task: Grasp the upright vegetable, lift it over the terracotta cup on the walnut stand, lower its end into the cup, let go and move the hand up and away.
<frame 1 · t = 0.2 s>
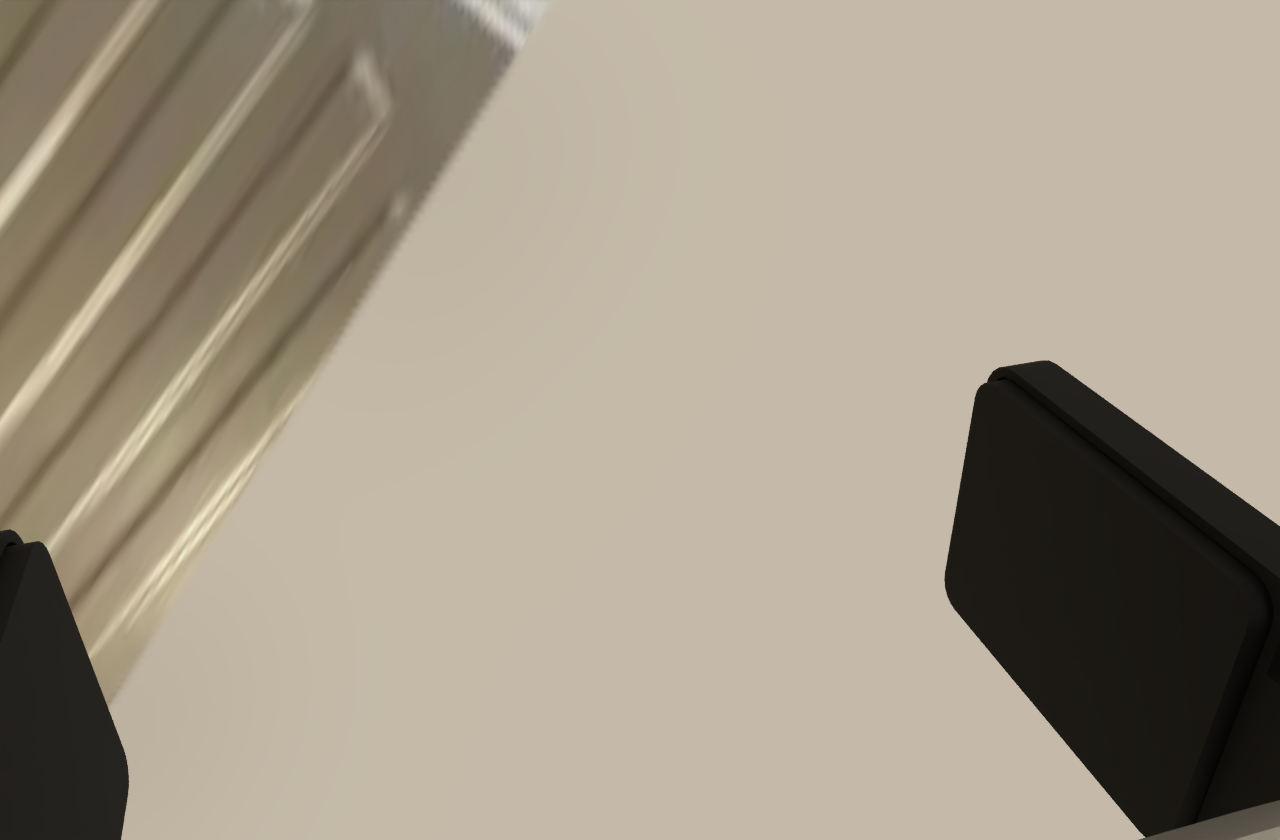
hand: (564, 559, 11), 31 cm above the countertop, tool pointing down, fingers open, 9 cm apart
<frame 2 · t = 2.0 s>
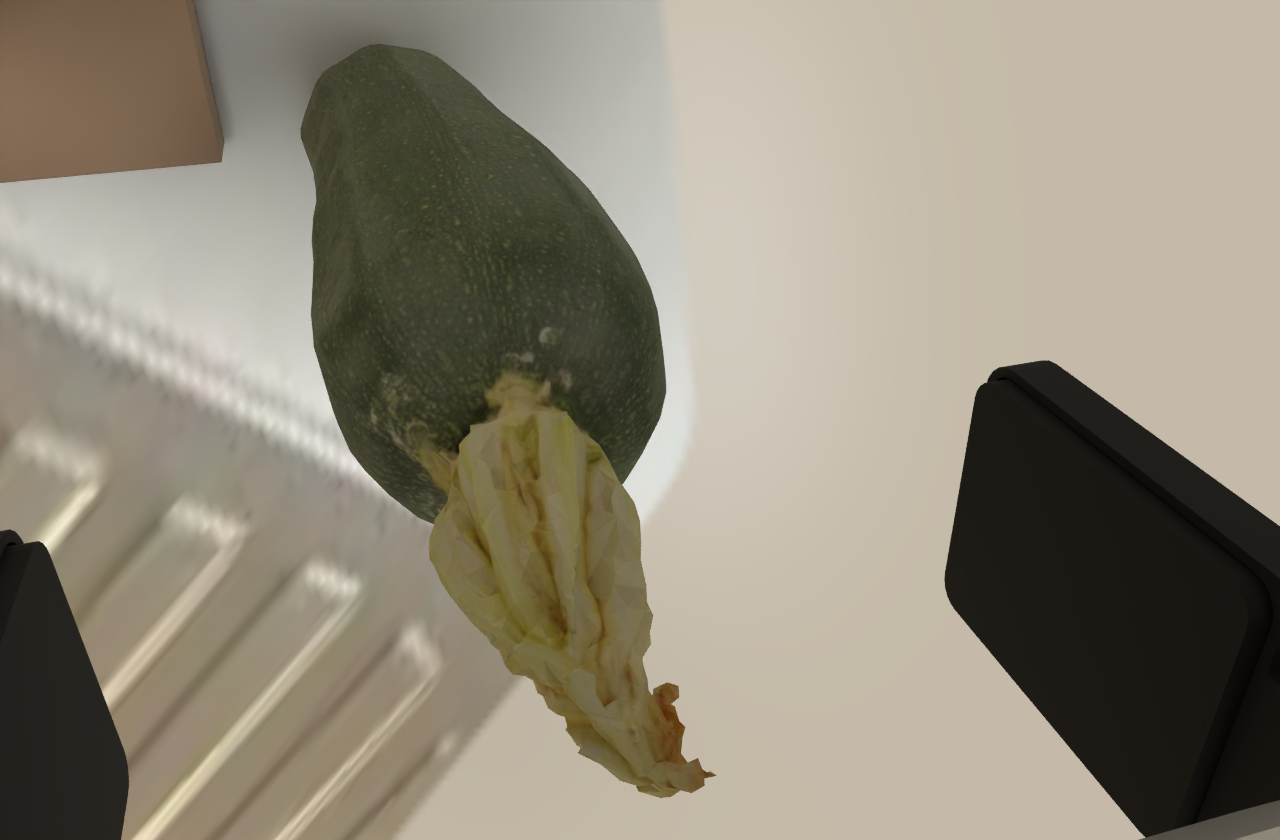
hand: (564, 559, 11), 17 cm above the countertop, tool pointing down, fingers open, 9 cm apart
vegetable: (394, 81, 25), on the countertop
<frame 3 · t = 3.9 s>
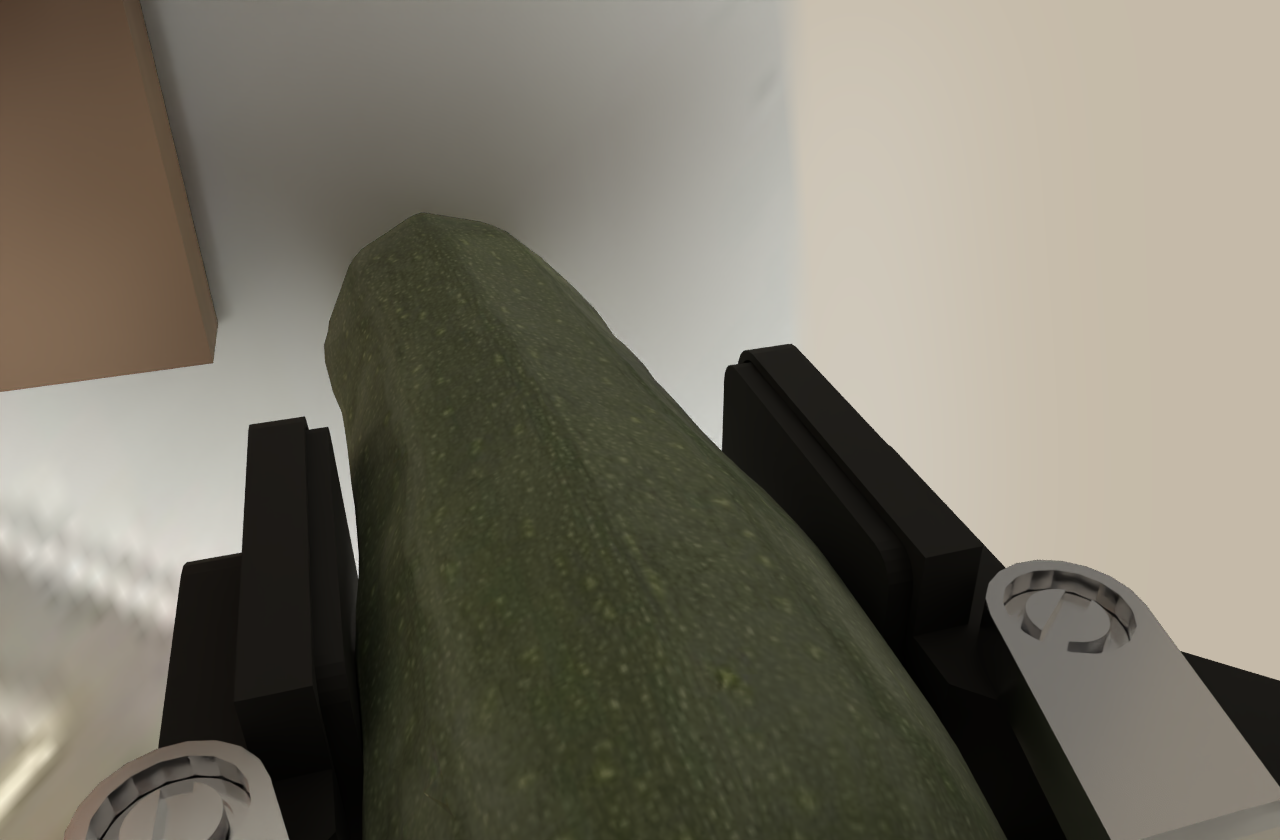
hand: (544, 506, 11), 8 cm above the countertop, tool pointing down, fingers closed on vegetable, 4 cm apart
vegetable: (444, 238, 19), on the countertop, touching gripper
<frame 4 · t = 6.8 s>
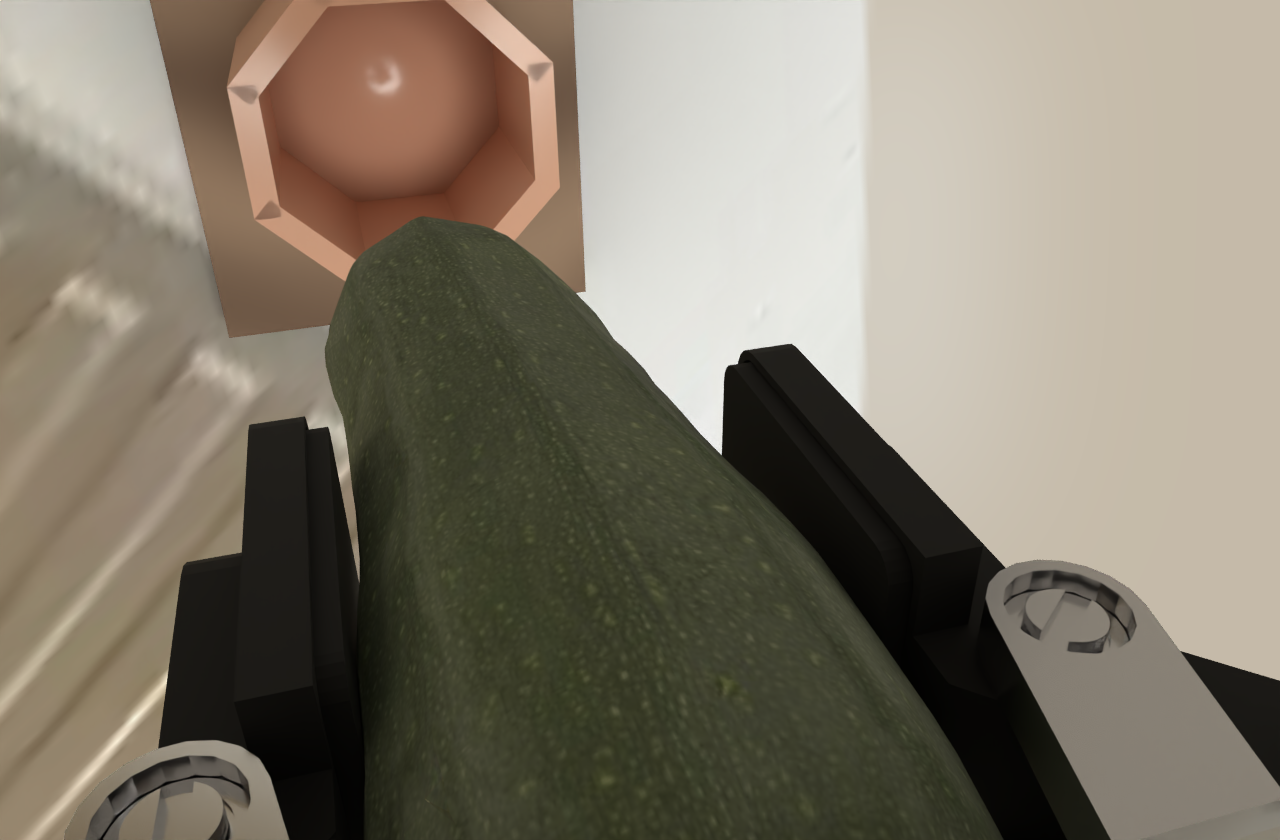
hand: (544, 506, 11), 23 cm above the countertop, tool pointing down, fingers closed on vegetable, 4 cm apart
vegetable: (445, 240, 19), point 14 cm above the countertop, touching gripper
cup: (393, 110, 27), on the stand, point 4 cm above the countertop
stand: (379, 73, 30), on the countertop
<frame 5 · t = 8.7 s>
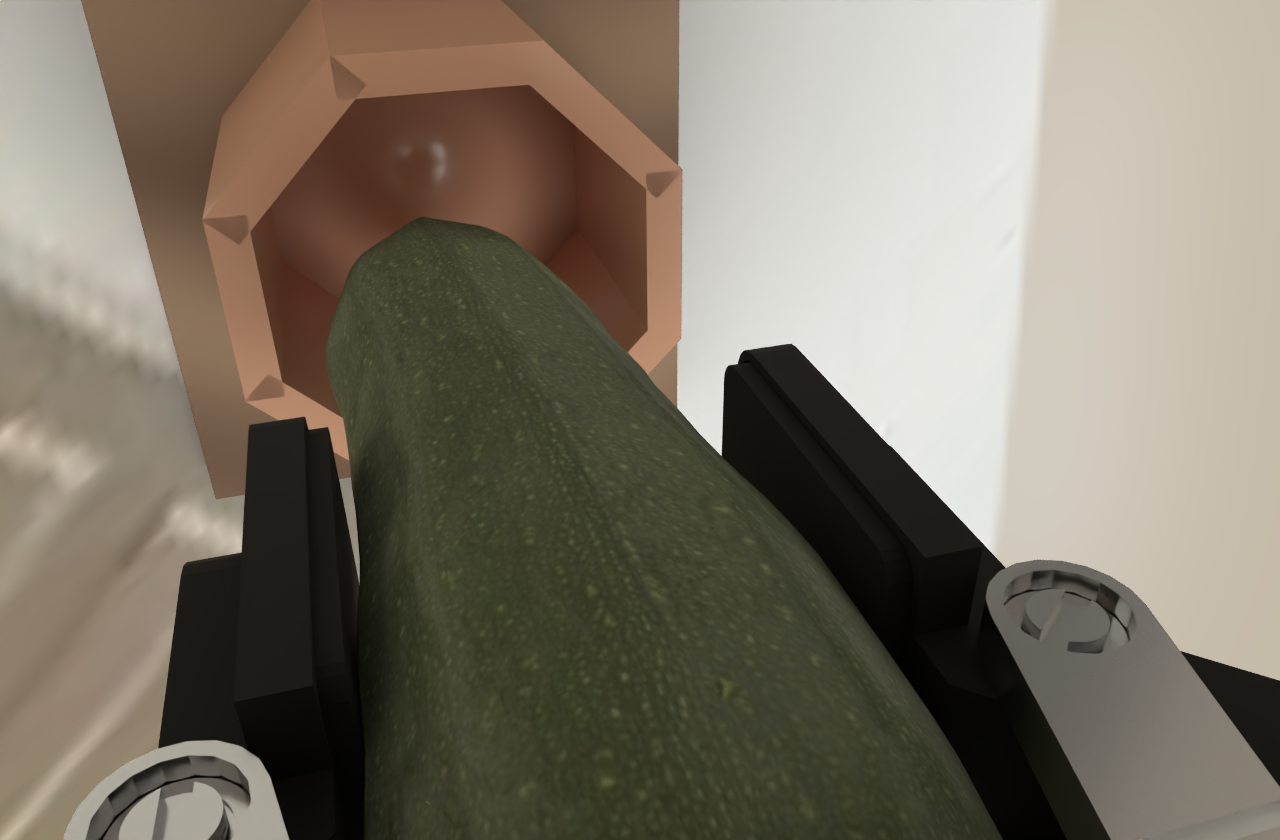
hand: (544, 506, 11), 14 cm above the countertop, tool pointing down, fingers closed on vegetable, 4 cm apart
vegetable: (445, 241, 19), point 5 cm above the countertop, touching gripper
cup: (441, 221, 19), on the stand, point 4 cm above the countertop
stand: (415, 152, 23), on the countertop
when the fingers open (12 cm above the countertop, at t = 10.1 s): vegetable stays where it is, resting on cup.
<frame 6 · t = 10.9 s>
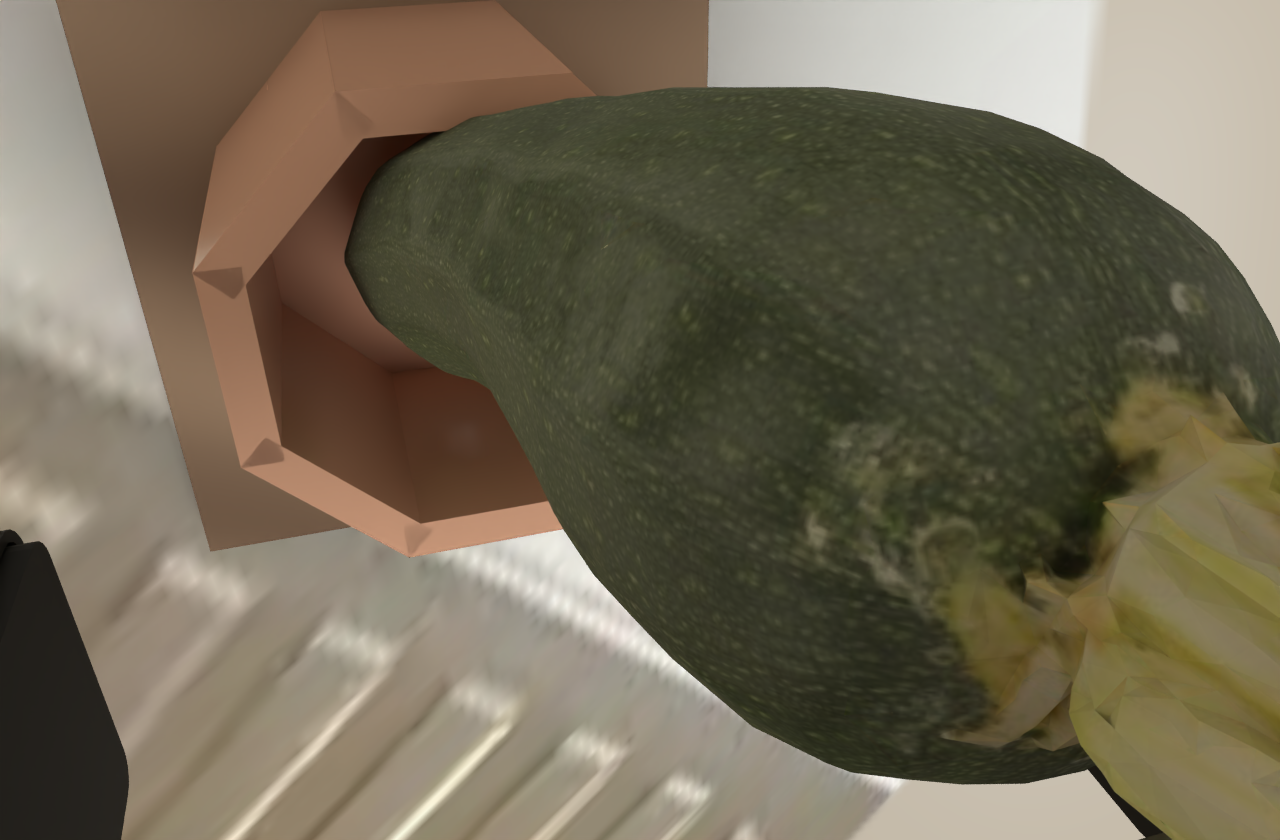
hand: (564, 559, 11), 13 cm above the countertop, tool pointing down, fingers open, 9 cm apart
vegetable: (435, 215, 19), point 2 cm above the countertop, touching cup
cup: (454, 263, 18), on the stand, point 4 cm above the countertop
stand: (424, 182, 21), on the countertop
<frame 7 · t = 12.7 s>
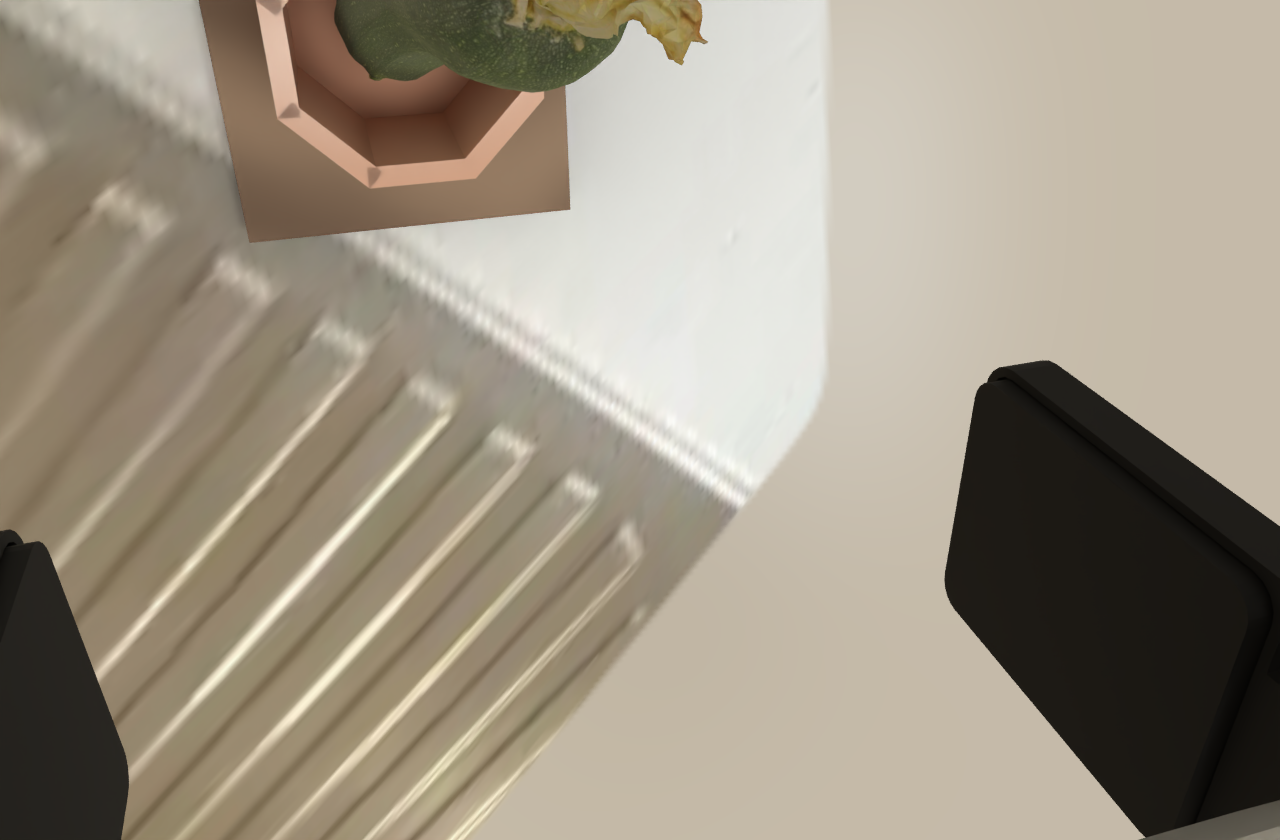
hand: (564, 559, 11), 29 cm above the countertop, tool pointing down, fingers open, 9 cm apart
vegetable: (390, 14, 32), point 2 cm above the countertop, touching cup
cup: (398, 30, 30), on the stand, point 4 cm above the countertop
stand: (385, 4, 34), on the countertop
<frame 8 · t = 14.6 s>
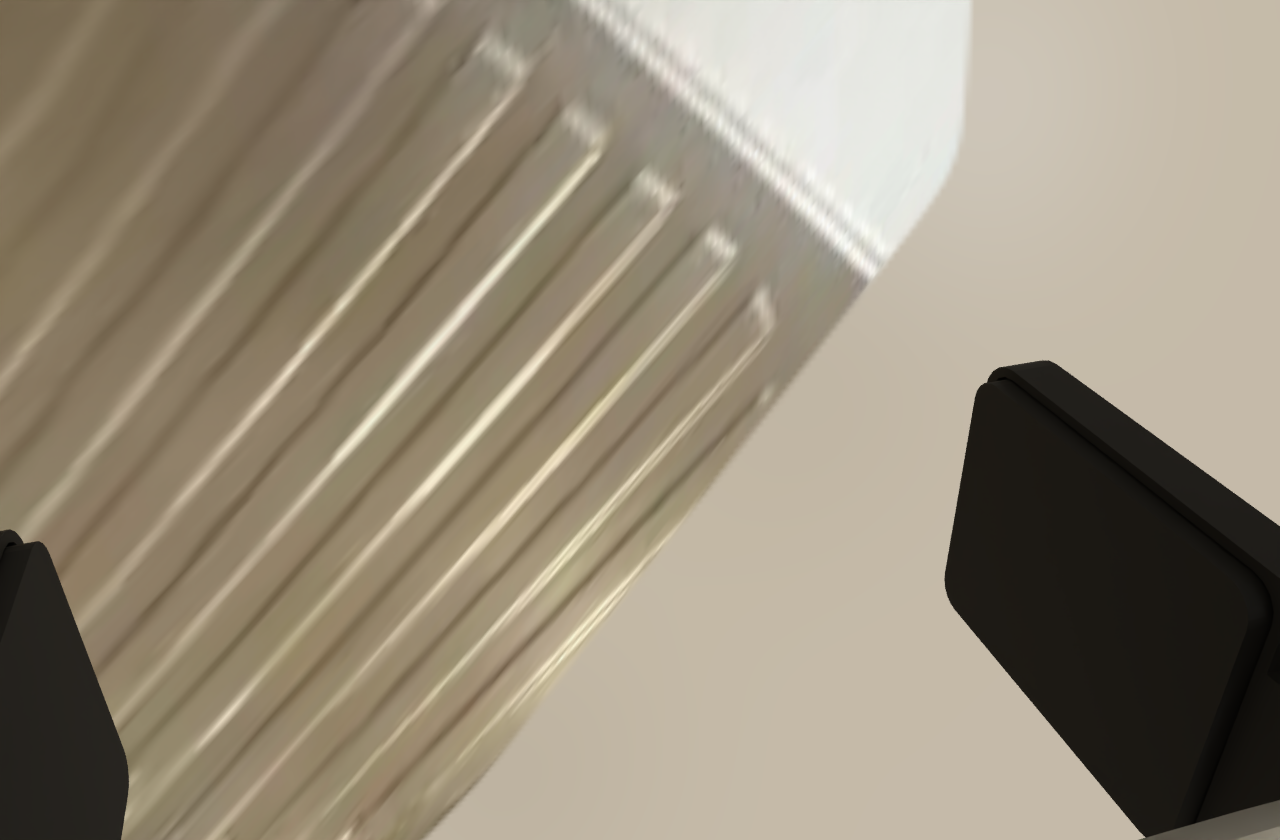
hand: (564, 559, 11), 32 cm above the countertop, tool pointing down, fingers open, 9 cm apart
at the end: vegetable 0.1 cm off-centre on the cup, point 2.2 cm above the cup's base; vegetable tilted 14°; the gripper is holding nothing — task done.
